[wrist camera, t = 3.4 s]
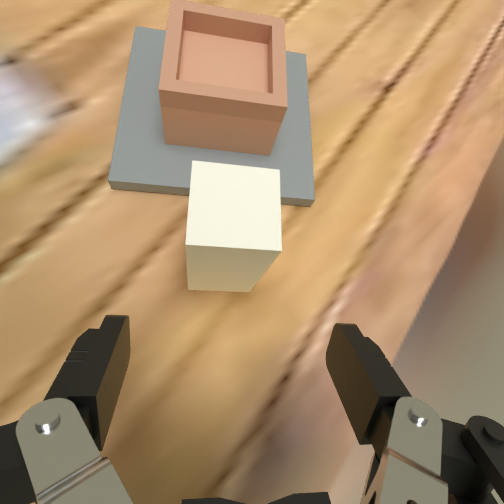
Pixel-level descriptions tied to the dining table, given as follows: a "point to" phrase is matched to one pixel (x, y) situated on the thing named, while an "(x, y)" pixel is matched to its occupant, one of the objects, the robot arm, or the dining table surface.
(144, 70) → the tower base
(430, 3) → the dining table surface
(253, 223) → the tall brick
